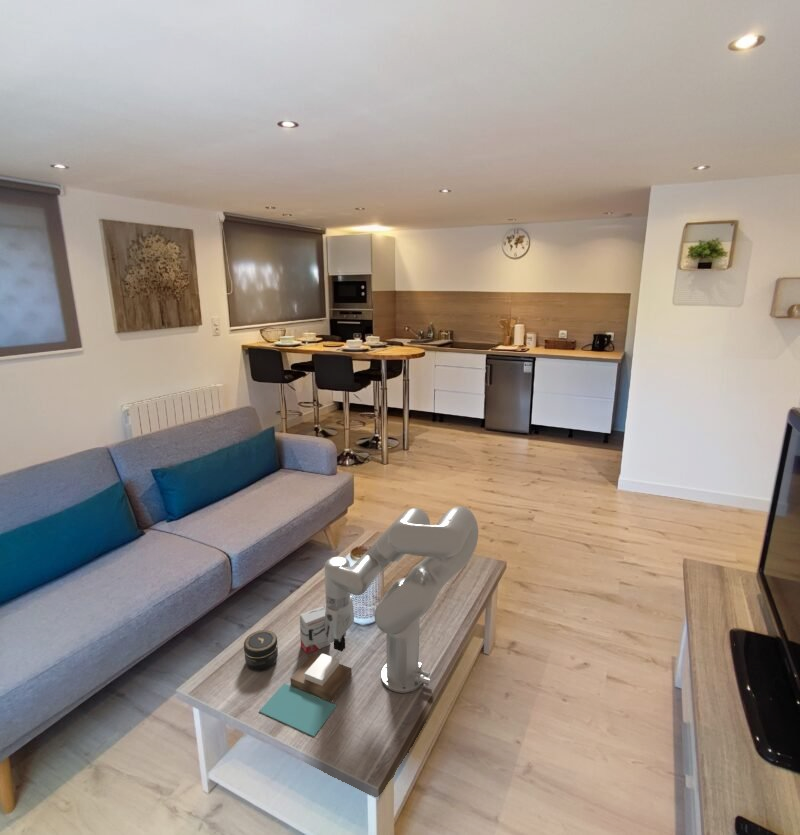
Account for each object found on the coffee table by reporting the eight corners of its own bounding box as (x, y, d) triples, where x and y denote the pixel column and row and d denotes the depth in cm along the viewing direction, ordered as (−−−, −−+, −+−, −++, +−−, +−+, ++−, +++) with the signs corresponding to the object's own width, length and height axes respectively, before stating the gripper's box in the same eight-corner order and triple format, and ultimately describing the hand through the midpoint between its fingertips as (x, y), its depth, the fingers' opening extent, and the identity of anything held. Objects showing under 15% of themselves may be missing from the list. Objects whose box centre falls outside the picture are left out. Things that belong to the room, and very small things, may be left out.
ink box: (306, 655, 155) (305, 622, 152) (300, 645, 159) (298, 614, 156) (331, 644, 160) (330, 613, 157) (324, 636, 164) (323, 605, 161)
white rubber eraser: (339, 665, 148) (338, 659, 147) (322, 686, 140) (322, 680, 139) (322, 658, 150) (322, 653, 150) (304, 679, 142) (304, 673, 142)
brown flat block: (351, 675, 147) (351, 668, 146) (331, 702, 137) (331, 694, 137) (312, 660, 153) (312, 653, 152) (290, 685, 143) (290, 678, 142)
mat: (336, 706, 136) (336, 705, 136) (314, 736, 127) (313, 736, 127) (284, 684, 143) (284, 683, 143) (259, 711, 134) (259, 710, 134)
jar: (261, 645, 159) (260, 625, 157) (285, 656, 154) (284, 635, 152) (238, 665, 150) (236, 644, 148) (262, 677, 146) (261, 656, 144)
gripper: (335, 614, 140) (336, 668, 145) (361, 587, 153) (361, 637, 158) (313, 607, 143) (315, 660, 148) (340, 581, 156) (342, 630, 161)
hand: (339, 648), depth 153 cm, fingers closed
